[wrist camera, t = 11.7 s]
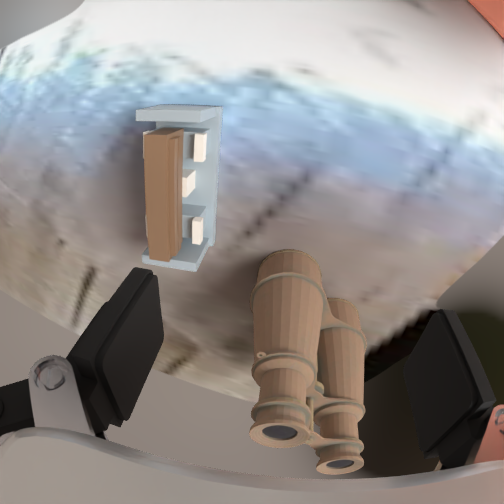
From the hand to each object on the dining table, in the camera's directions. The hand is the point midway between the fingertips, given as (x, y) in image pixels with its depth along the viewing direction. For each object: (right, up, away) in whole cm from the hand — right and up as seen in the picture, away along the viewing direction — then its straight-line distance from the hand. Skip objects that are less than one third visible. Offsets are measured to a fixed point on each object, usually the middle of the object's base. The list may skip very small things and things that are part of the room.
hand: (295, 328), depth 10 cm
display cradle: (-10, +12, +29) cm, 33 cm away
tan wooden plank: (-11, +10, +25) cm, 29 cm away
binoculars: (+8, -5, +37) cm, 38 cm away
